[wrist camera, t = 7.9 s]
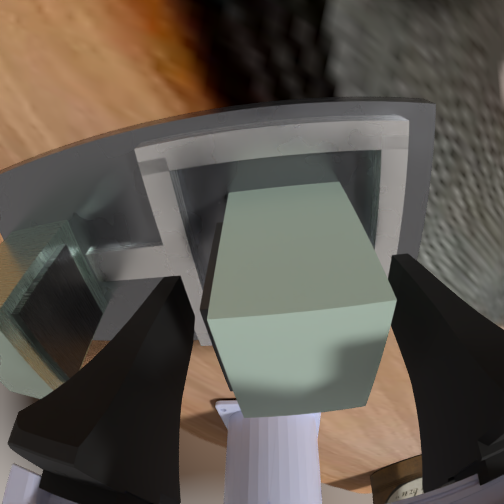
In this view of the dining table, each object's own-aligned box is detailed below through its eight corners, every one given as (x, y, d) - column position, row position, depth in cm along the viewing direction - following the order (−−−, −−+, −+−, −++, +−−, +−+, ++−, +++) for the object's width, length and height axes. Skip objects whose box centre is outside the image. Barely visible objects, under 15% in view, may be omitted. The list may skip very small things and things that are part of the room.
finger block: (339, 181, 11) (396, 299, 6) (337, 285, 14) (365, 405, 9) (217, 194, 11) (188, 320, 7) (239, 295, 14) (231, 418, 9)
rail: (423, 98, 10) (554, 170, 4) (396, 306, 16) (435, 418, 10) (-10, 175, 12) (-100, 257, 6) (70, 327, 18) (32, 417, 12)
